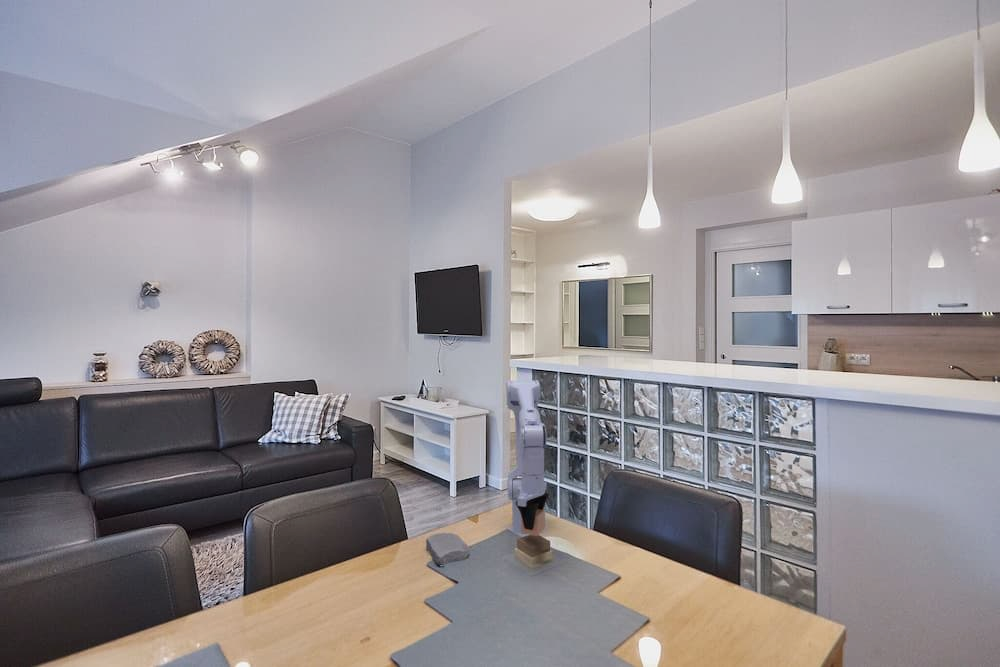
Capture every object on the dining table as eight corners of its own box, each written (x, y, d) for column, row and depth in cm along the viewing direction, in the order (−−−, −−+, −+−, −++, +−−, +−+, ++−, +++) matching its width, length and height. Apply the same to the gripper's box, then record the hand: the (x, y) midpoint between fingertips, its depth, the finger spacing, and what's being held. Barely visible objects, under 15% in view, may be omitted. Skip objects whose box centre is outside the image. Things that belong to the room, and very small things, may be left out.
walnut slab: (534, 542, 130) (534, 533, 130) (550, 550, 126) (550, 541, 125) (517, 548, 127) (517, 538, 127) (532, 557, 122) (532, 547, 122)
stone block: (456, 548, 138) (422, 548, 134) (459, 531, 138) (425, 530, 134) (472, 569, 127) (435, 570, 123) (475, 550, 127) (439, 550, 123)
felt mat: (536, 546, 135) (536, 544, 135) (567, 564, 125) (567, 561, 125) (500, 559, 128) (500, 556, 128) (530, 578, 118) (530, 576, 118)
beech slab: (535, 550, 131) (535, 541, 131) (552, 560, 125) (553, 551, 125) (514, 557, 127) (514, 548, 127) (531, 568, 121) (531, 558, 121)
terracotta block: (528, 526, 129) (528, 507, 129) (544, 529, 127) (544, 510, 127) (521, 532, 125) (521, 513, 125) (537, 536, 123) (537, 516, 123)
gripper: (529, 463, 134) (529, 512, 134) (506, 478, 121) (506, 533, 121) (554, 466, 131) (553, 517, 131) (532, 482, 118) (532, 538, 118)
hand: (532, 525), depth 126 cm, fingers closed on terracotta block, 4 cm apart
